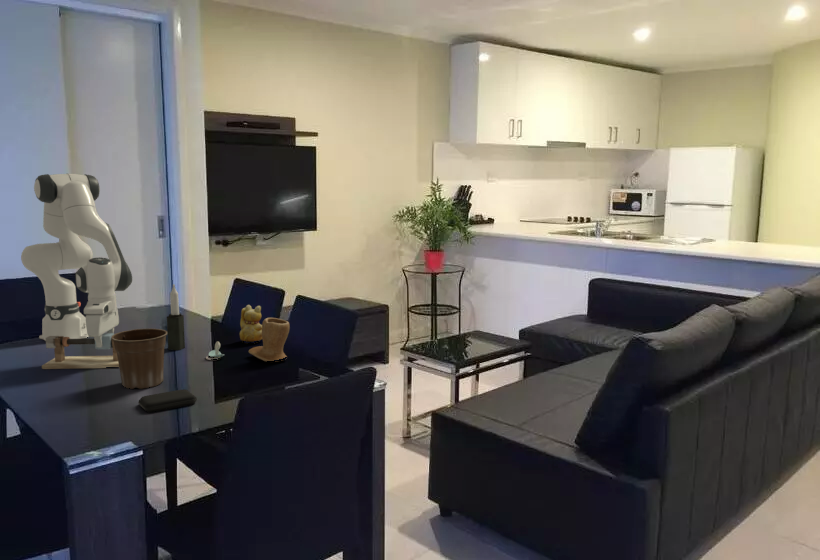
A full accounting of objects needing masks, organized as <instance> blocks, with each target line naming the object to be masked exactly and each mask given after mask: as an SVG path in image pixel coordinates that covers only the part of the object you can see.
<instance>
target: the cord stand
mask: <svg viewBox="0 0 820 560" xmlns="http://www.w3.org/2000/svg"><path fill="white" fill-rule="evenodd" d="M111 344H112V347H113V348H112V355H78V356H77V355H76V356H74V355H71V356H69V355H68V356H66V353H65V347H70V345H73V346H74V345H95V339H94V338H81V339H70V338H69V337H64V336H49V337H47V338H46V341H45V347H46V349H53V350H54V358H52V359H51V360H49V361H47V362H45V363H43V364H42V365H41V369H42V370H59V369H60V370H64V369H67V370H68V369H69V370H71V369H107V368H106V367H119V363H118V357H117V352H116V350H115V346H114V342H113V340H112V339H111Z"/></svg>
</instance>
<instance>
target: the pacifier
mask: <svg viewBox="0 0 820 560" xmlns="http://www.w3.org/2000/svg"><path fill="white" fill-rule="evenodd" d="M220 348H221V343H220V341H216V342H215V344H214V349H213V350H211V351H209V352H208V355H207V356H205V359H206V360H208V361H212V360H211V359H217V360H219V359H218V358H220V359H221V357H223V356H225V354H224V353H221V351H219V350H220ZM209 356H210V357H209ZM208 357H209V358H208ZM213 357H214V358H213Z"/></svg>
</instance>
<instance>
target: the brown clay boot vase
mask: <svg viewBox="0 0 820 560" xmlns="http://www.w3.org/2000/svg"><path fill="white" fill-rule="evenodd" d="M261 325H262V345H261V346H260V345H259V346H253V347H252V348H250V349H249V350H248V353H249V354H250V355H252V356H253V357H255V358H257V359H259V360H261V361H264V362H267V361H274V360H279V359H283V358H285V357H287V358H288V356H287V355H286V353H285V352H284V347H285V346H284V345H285V343H286V341H287V338H288V336H289V333H290V329H291V327H290V322H289V321H288V320H285V319H282V318H276V317H267V318H264V320H263V321H262V323H261Z"/></svg>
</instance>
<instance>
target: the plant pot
mask: <svg viewBox="0 0 820 560" xmlns="http://www.w3.org/2000/svg"><path fill="white" fill-rule="evenodd" d="M167 336H168V334H167V330H165V329H160V328H134V329H129V330H125V331H124V330H123V331H120V332H116V333H114V335H112V337H111V339H112V340H113V342H114V346H115V350H116V352H117V357H118V363H119V368H118V369H119V374H120V379H121V380H120V381H121V385H123V386H124V388H125V387H126V389H129V388H130V390H131V389H132V390H134V389H135V388H137V389H140V390H141V389H142V390H143V389H150V388H153V387H156V386H158V385H161V384H162V383H163V382H164V365H165V363H164V362H165V360H164V359H165V346H166V340H167ZM149 387H150V388H149Z"/></svg>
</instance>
